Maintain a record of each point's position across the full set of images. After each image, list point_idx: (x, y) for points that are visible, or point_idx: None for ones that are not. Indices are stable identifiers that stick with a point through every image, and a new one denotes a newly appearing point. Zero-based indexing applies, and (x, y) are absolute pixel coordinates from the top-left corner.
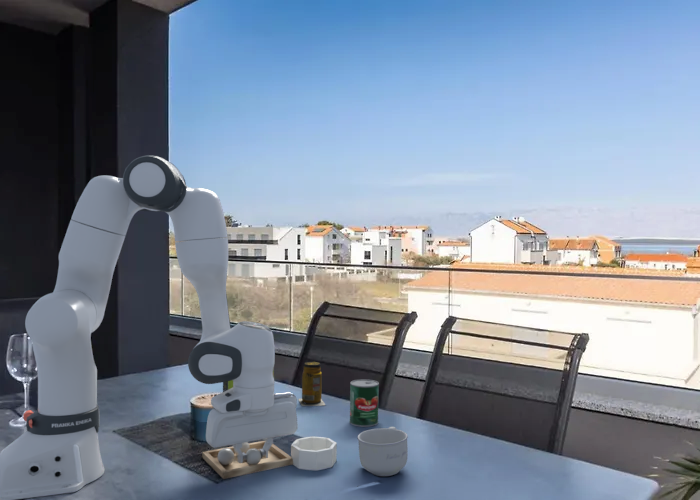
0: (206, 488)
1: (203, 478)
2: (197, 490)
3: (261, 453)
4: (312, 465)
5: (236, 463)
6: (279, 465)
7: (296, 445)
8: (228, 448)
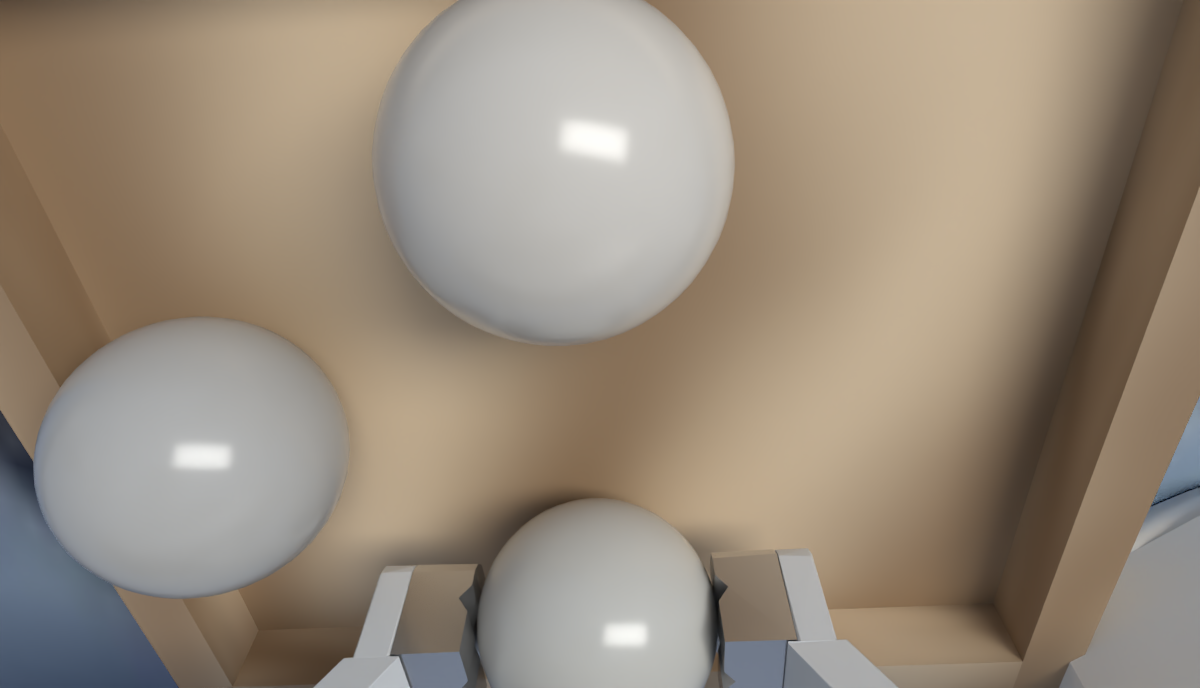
0: (85, 678)
1: (15, 511)
2: (7, 681)
3: (719, 675)
4: None
5: (414, 389)
6: None
7: None
8: (186, 554)
